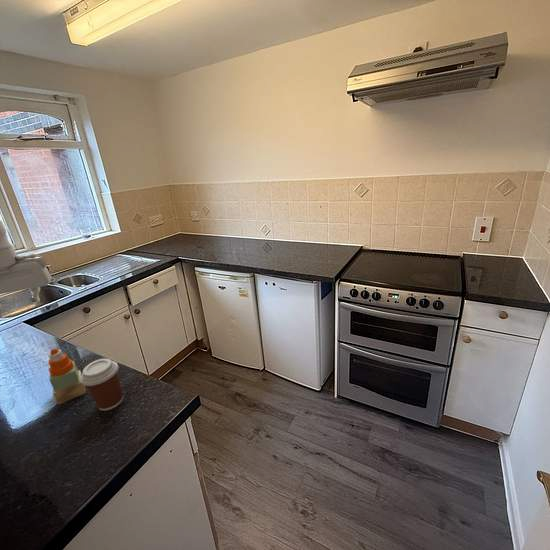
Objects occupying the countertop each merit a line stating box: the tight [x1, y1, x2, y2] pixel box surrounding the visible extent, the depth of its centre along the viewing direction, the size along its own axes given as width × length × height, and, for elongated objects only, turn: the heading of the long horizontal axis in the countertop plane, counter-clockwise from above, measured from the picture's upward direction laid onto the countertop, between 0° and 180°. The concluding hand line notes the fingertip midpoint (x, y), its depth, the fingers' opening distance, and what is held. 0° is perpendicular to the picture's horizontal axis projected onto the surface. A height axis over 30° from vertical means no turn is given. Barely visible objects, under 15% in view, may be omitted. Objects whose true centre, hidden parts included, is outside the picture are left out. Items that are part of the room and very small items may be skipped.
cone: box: [48, 348, 74, 377], centre depth 84 cm, size 6×6×7 cm
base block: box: [52, 369, 87, 406], centre depth 88 cm, size 7×7×4 cm
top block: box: [49, 360, 79, 392], centre depth 86 cm, size 6×6×4 cm
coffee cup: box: [80, 358, 125, 412], centre depth 81 cm, size 9×9×12 cm
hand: (17, 305), depth 85 cm, fingers open, 8 cm apart
